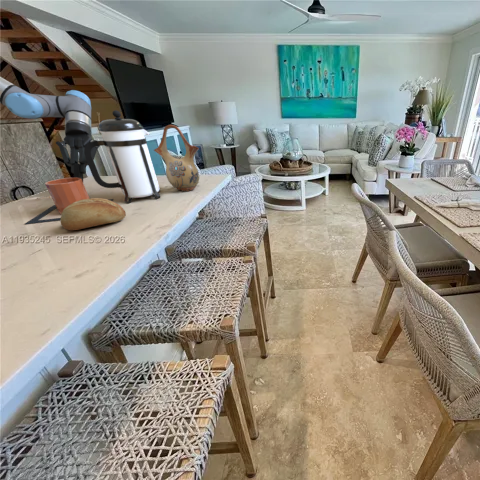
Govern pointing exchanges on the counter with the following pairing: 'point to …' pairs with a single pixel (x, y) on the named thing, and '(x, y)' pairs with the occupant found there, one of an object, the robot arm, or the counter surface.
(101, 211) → the bread roll
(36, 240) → the counter surface
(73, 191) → the terracotta flower pot
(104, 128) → the coffee press
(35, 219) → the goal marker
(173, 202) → the counter surface
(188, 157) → the ceramic vessel
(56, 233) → the counter surface
